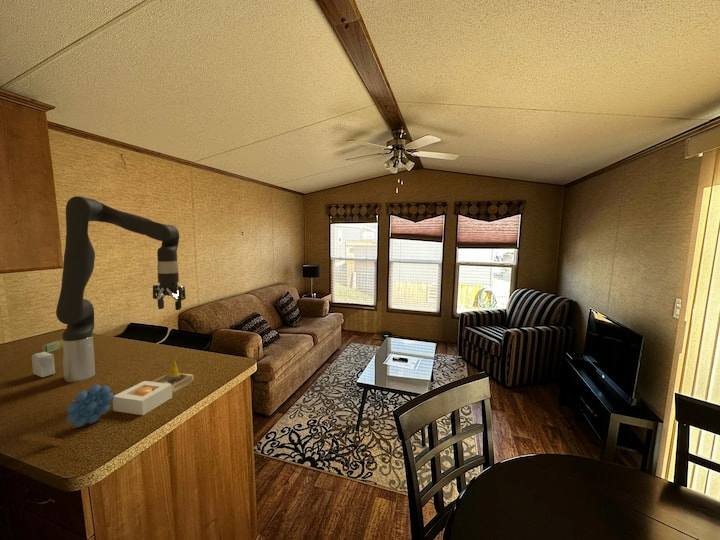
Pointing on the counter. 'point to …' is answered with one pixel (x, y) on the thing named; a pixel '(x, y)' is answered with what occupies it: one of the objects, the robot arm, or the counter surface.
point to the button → (143, 391)
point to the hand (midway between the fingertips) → (169, 309)
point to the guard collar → (142, 398)
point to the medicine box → (43, 364)
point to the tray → (177, 381)
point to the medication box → (52, 346)
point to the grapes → (89, 405)
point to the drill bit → (172, 373)
